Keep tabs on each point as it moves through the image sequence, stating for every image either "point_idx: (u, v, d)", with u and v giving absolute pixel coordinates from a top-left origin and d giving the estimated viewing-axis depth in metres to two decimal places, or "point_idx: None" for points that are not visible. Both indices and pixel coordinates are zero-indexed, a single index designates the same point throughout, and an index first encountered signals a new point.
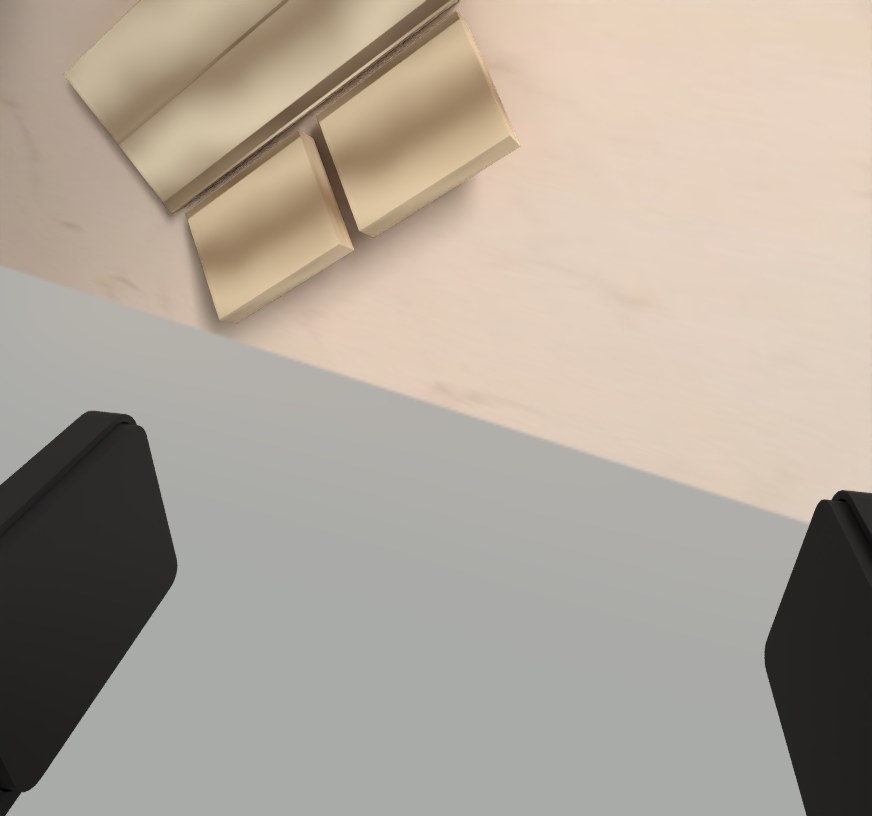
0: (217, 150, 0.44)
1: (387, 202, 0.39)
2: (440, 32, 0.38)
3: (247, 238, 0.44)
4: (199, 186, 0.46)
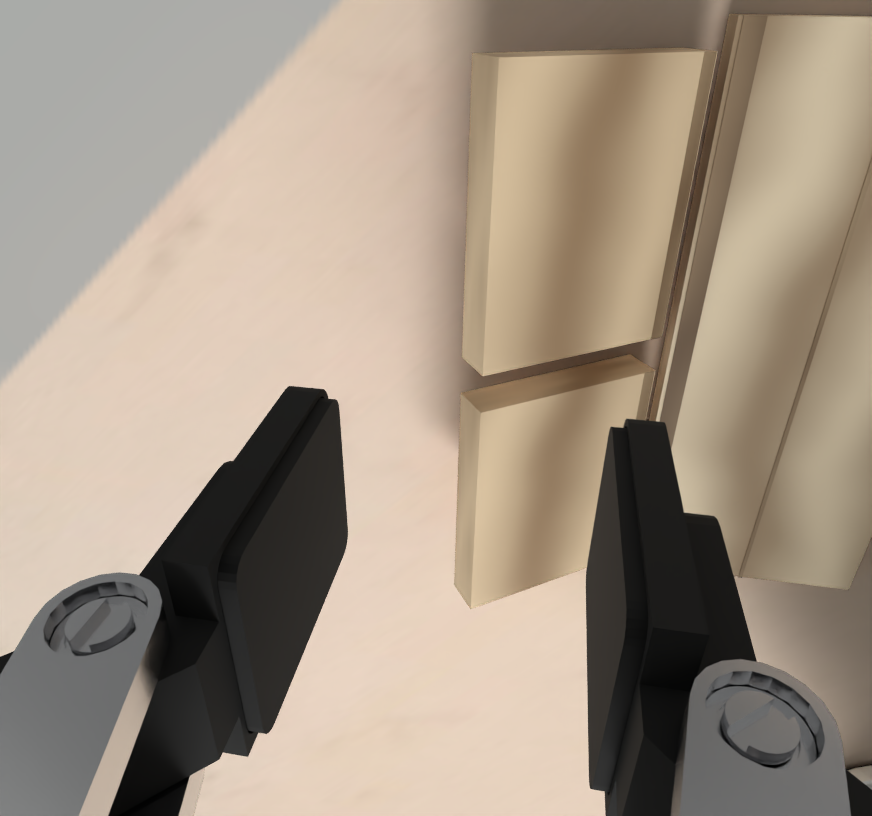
0: (740, 198, 0.25)
1: (491, 460, 0.27)
2: None
3: (592, 192, 0.23)
4: (727, 118, 0.23)
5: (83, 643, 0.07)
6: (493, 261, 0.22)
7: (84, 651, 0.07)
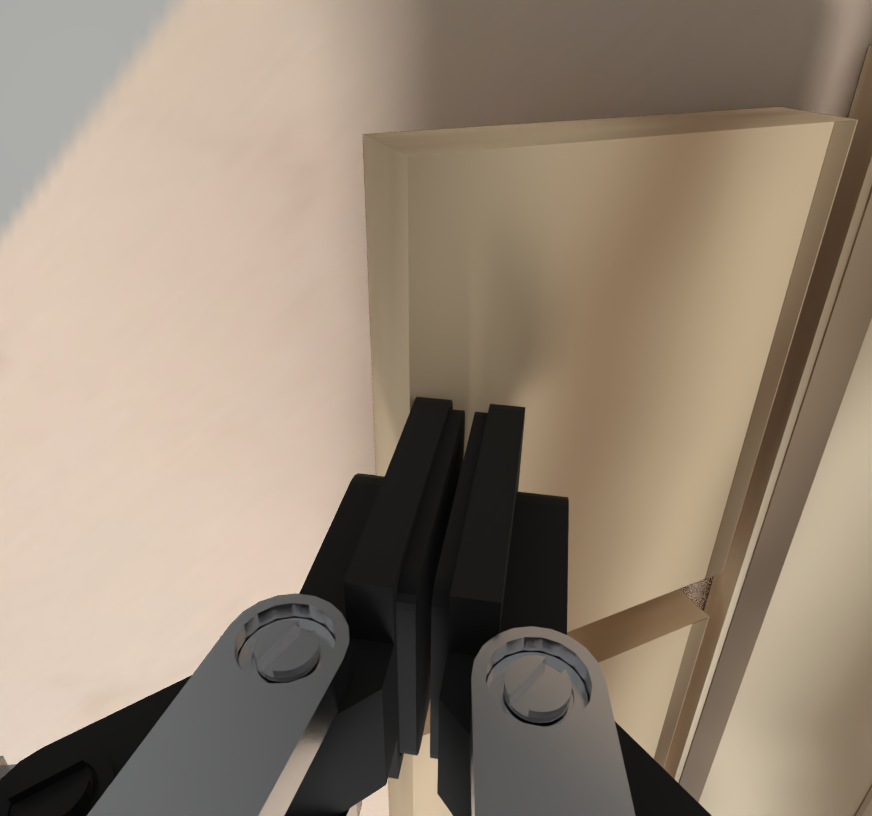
0: None
1: (436, 792, 0.16)
2: None
3: (612, 386, 0.12)
4: (863, 239, 0.13)
5: (268, 665, 0.06)
6: None
7: (267, 675, 0.06)
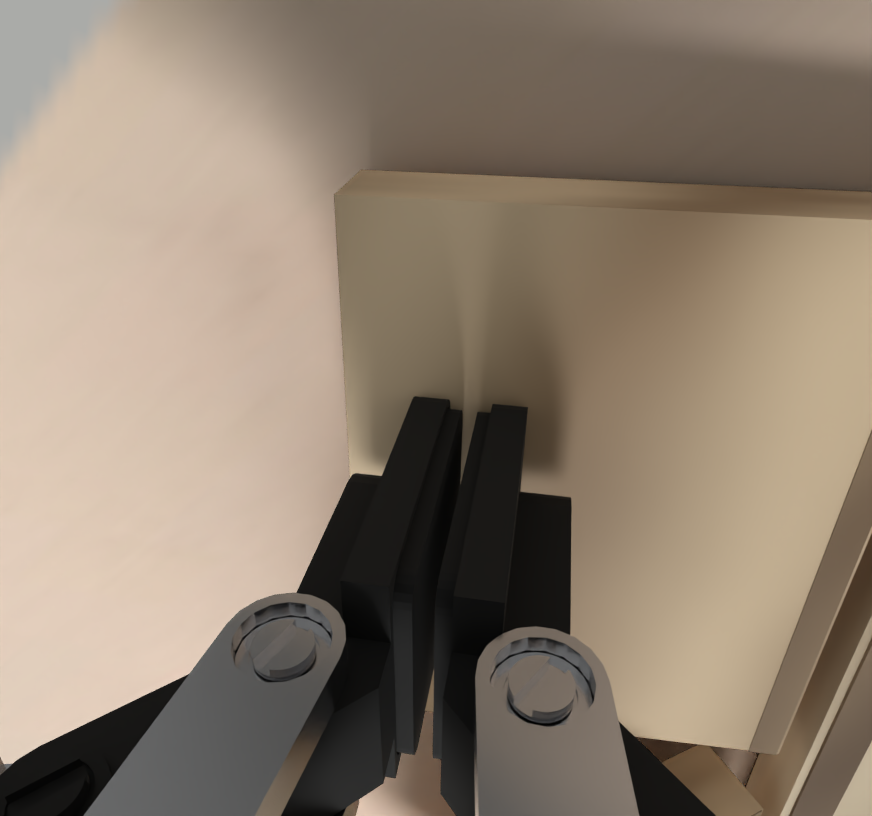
0: None
1: None
2: None
3: (590, 476, 0.11)
4: None
5: (264, 664, 0.07)
6: None
7: (263, 674, 0.06)
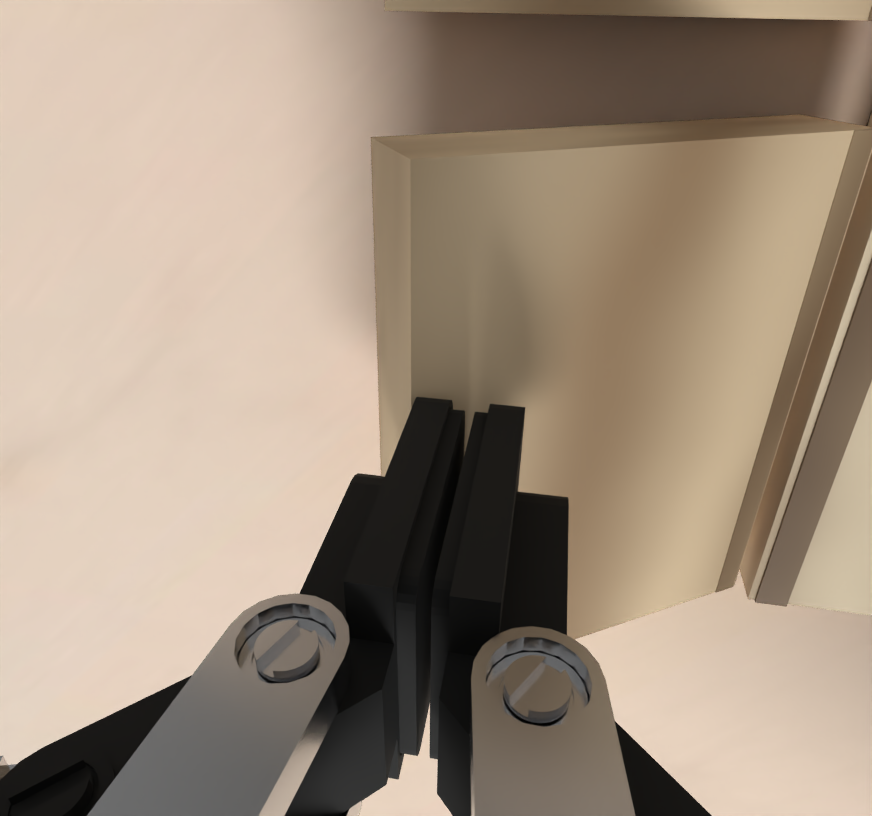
0: None
1: (448, 324, 0.10)
2: (730, 551, 0.15)
3: None
4: None
5: (268, 665, 0.07)
6: None
7: (267, 675, 0.06)
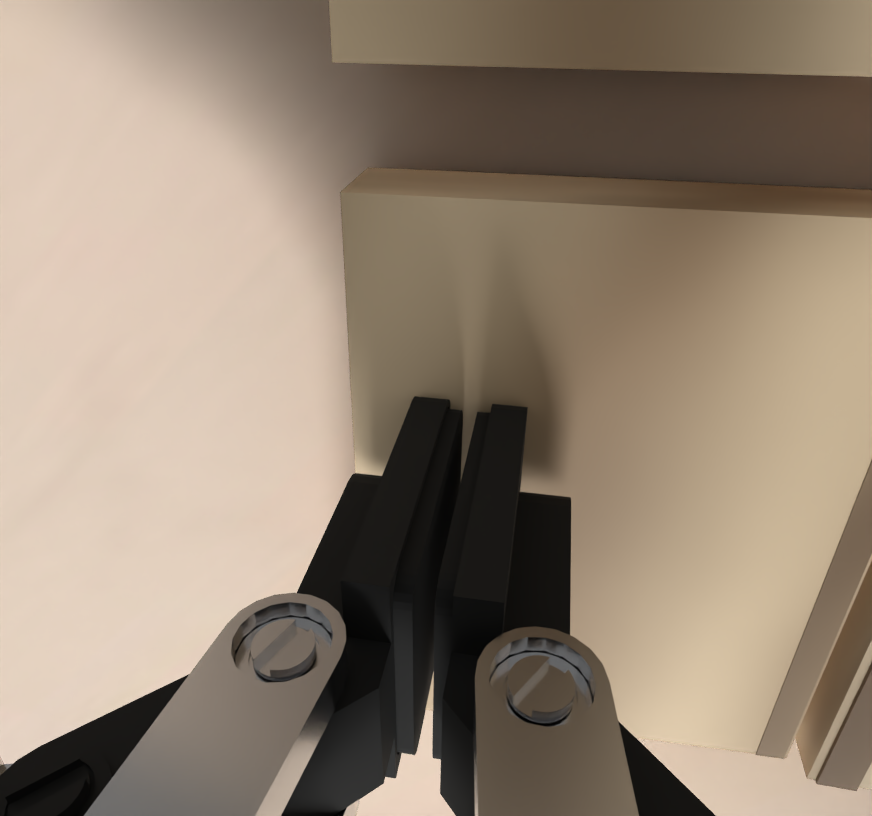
0: None
1: (387, 355, 0.10)
2: (775, 712, 0.12)
3: None
4: None
5: (265, 664, 0.07)
6: None
7: (264, 674, 0.06)
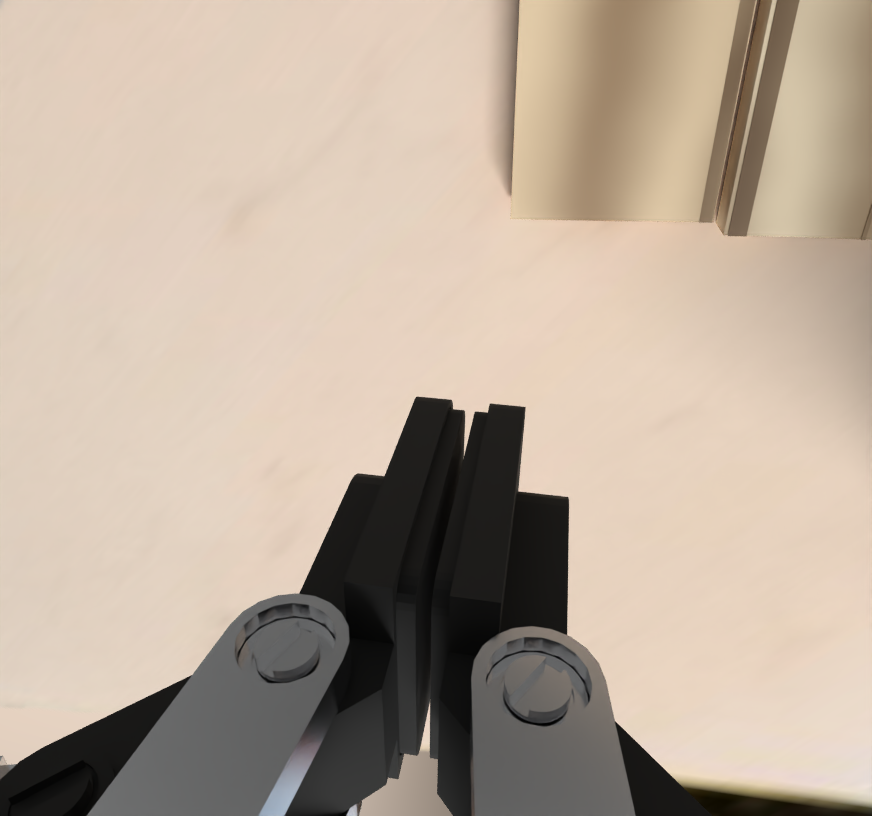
0: None
1: None
2: (706, 190, 0.27)
3: None
4: None
5: (268, 665, 0.07)
6: None
7: (267, 675, 0.06)
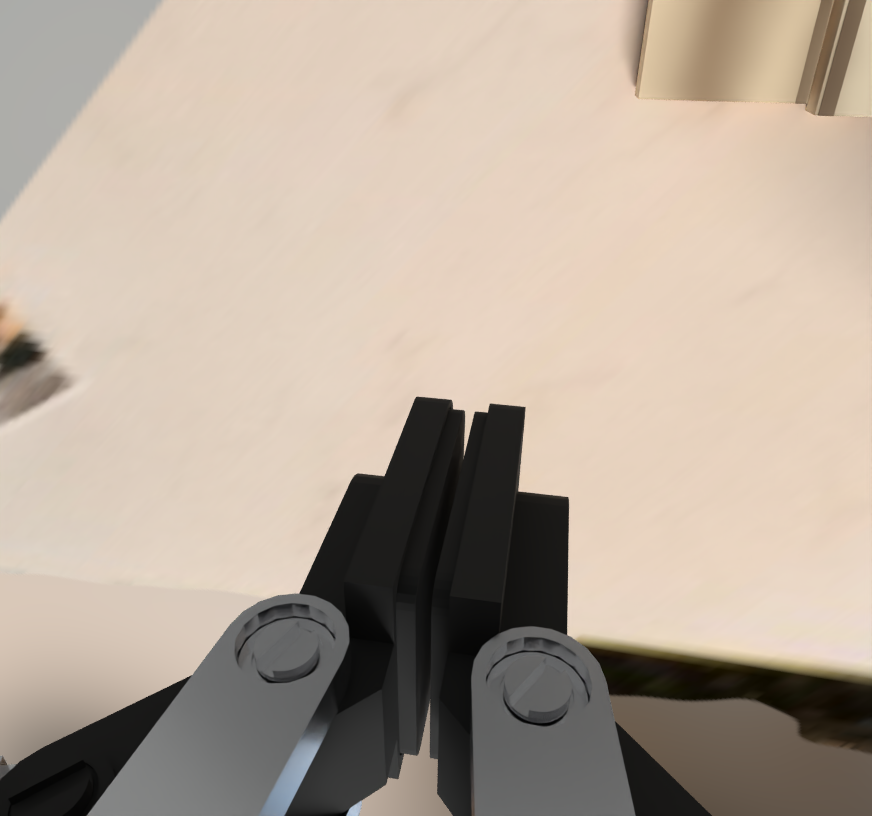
0: None
1: None
2: (803, 75, 0.33)
3: None
4: None
5: (268, 665, 0.07)
6: None
7: (267, 675, 0.06)
